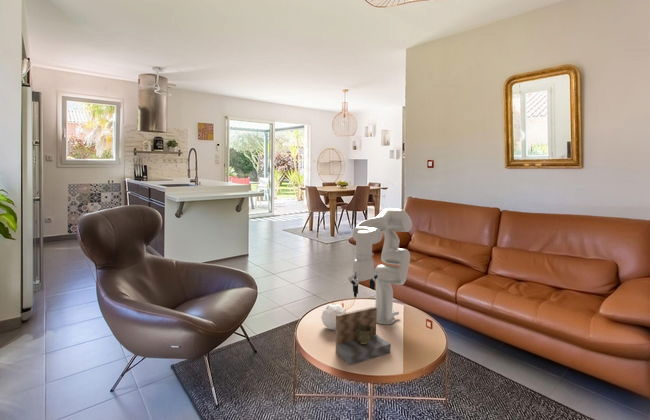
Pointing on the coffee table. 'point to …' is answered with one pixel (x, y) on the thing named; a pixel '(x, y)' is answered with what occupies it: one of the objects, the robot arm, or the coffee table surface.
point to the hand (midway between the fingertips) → (363, 290)
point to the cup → (363, 333)
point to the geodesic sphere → (331, 315)
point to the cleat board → (348, 340)
